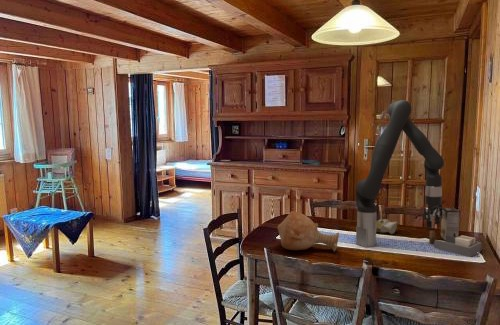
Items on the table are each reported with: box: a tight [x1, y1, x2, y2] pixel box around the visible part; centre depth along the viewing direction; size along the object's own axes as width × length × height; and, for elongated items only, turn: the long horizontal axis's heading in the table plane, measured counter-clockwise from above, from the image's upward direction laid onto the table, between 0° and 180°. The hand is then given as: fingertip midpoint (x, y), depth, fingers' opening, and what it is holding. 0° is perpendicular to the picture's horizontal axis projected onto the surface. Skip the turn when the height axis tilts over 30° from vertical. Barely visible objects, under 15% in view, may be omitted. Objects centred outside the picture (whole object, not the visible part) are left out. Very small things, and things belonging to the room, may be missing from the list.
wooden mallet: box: [428, 230, 476, 247], centre depth 179 cm, size 7×20×6 cm, turn 37°
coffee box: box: [440, 206, 460, 242], centre depth 192 cm, size 9×6×16 cm
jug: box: [277, 210, 340, 252], centre depth 180 cm, size 20×19×30 cm
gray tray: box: [434, 235, 483, 258], centre depth 176 cm, size 13×16×4 cm
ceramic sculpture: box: [376, 217, 398, 235], centre depth 207 cm, size 11×9×15 cm
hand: (433, 226), depth 186 cm, fingers open, 8 cm apart
